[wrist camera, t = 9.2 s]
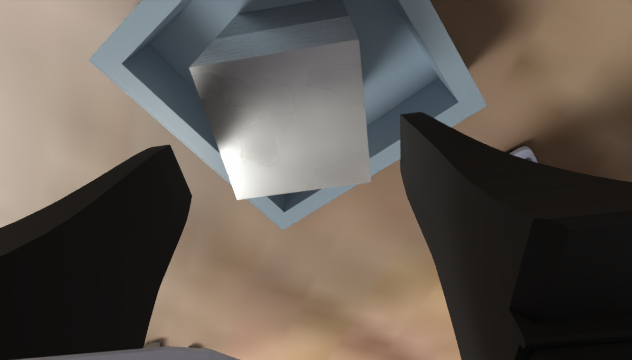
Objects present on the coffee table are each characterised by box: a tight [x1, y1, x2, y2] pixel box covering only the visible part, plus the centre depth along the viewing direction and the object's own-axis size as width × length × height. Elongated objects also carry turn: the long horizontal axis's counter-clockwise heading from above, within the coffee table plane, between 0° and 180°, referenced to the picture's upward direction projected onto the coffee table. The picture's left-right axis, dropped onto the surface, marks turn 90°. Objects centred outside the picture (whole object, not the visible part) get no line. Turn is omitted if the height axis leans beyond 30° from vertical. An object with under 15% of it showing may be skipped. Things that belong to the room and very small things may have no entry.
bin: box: [89, 0, 487, 230], centre depth 18 cm, size 13×13×4 cm
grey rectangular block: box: [189, 0, 371, 200], centre depth 16 cm, size 5×5×8 cm
